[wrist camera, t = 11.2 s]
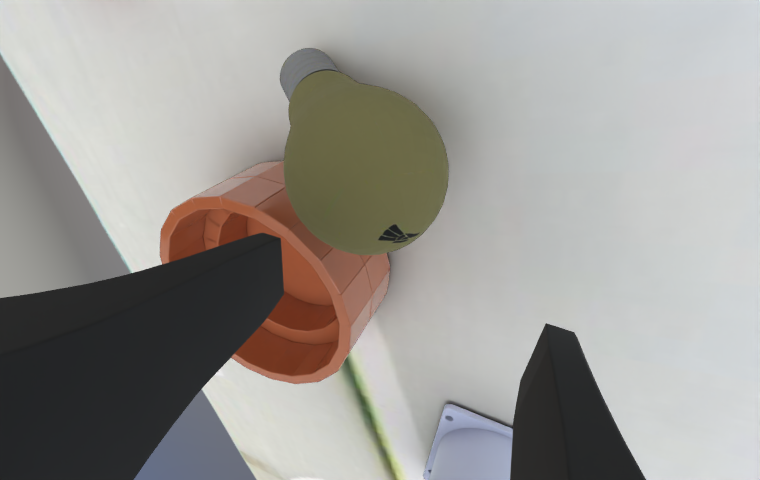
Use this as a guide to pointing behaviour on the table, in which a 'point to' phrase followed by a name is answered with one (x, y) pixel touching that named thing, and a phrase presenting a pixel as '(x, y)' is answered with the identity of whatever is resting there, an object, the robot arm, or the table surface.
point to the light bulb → (358, 159)
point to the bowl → (284, 275)
